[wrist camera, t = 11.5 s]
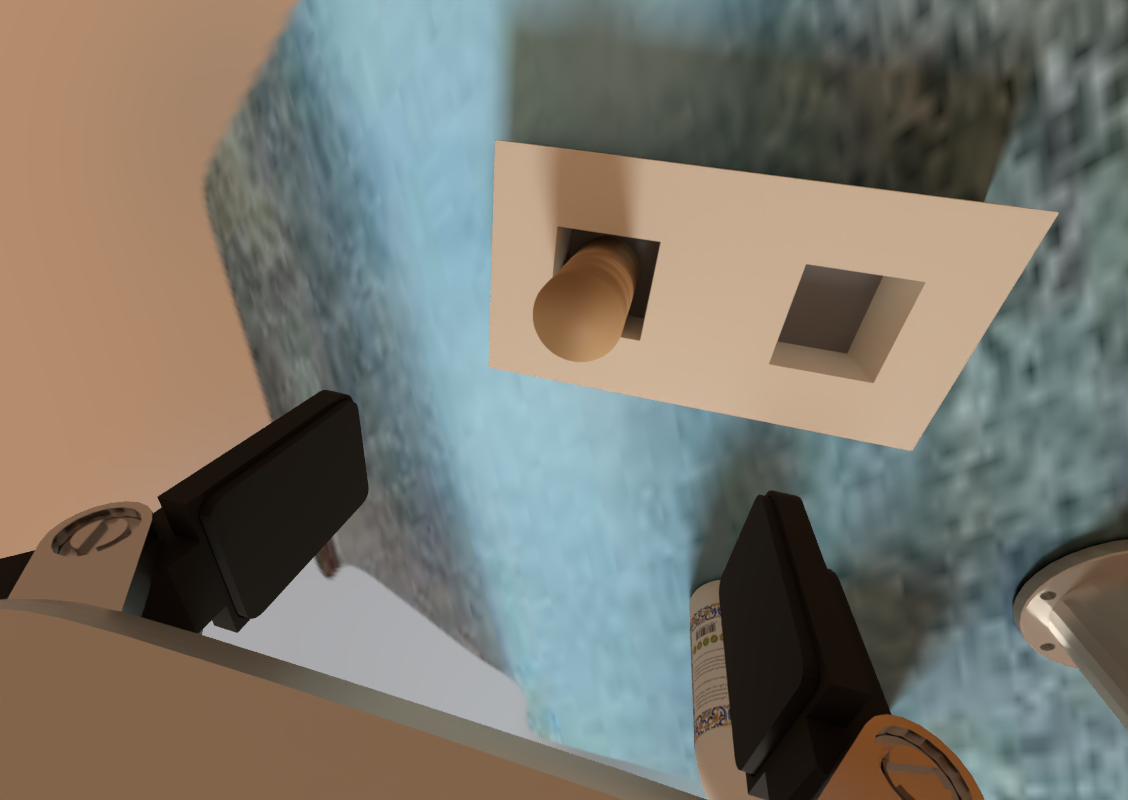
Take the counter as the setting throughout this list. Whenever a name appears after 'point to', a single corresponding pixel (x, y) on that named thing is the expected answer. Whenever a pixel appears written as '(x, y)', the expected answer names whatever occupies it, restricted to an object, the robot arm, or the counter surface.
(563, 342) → the oak pin
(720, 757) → the bath foam
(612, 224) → the hole block
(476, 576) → the counter surface
